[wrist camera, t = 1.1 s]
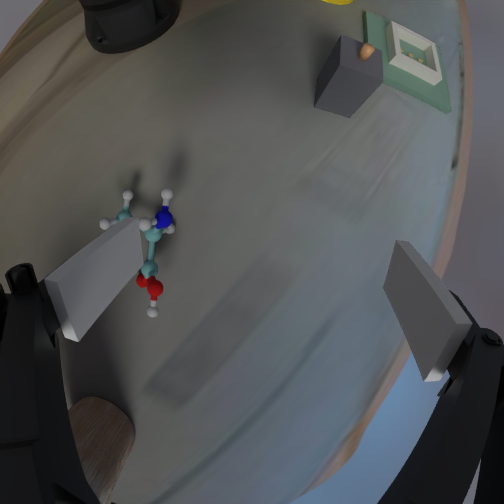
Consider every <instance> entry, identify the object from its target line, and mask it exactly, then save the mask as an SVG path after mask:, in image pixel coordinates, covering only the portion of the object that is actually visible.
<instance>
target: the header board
mask: <svg viewBox="0 0 504 504" xmlns="http://www.w3.org/2000/svg"><path fill="white" fill-rule="evenodd" d="M363 22H364V43H370V44H372V45H373V46H374V47H375V48H377V49H379V50H382V60H383V80H384V81H383V83H385V84H387V85H389V86H392V87H394V88H396V89H399V90H401V91H403V92H405V93H407V94H409V95H411V96H413V97H415V98H417V99H419V100H421V101H423V102H425V103H427V104H429V105H431V106H433V107H435V108H437V109H438V110H440V111H442V112H444V113H446V114H447V113H449V112H451V111H452V110H451V102H450V96H449V89H448V83H447V78H446V73H445V68H444V63H443V59H442V54H441V50H440V47H439V46H437V45H436V44H435V43H433V42H431V41H429V40H428V39H426V38H424V37H422V36H420V35H419V34H417V33H415V32H413V31H411V30H409V29H407V28H405V27H403V26H401V25H399V24H397V23H395V22H393V21H389V20H387V19H385V18H383V17H380V16H378V15H376V14H373V13H371V12H368V11H365V13H364V15H363Z"/></svg>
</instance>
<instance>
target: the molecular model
mask: <svg viewBox="0 0 504 504" xmlns="http://www.w3.org/2000/svg"><path fill="white" fill-rule="evenodd" d="M173 194H174V192H173V190H172V189H171V188H169V187H166V188H164V189H163V190H162V191H161V196H162V198H163V205H162V210H161V211H159V212H158V213H157V214H156V216H155V218H152V219H150V218H148V217H142V218H141V219H140V220H139V229H140V230H141V231H143V232H145V237H146V239H147V240H148V241H149V250H148V260H147V261H145V262H144V265H143V266H142V267H141V271H142V274H140V275H138V277H137V279H136V282H137V284H138V285H139V286H140V287H143V288H144V287H147V290H148V293H149V294H150V295H151V303H150V306H148V308H147V314H148V315H149V316H150V317H156V316H157V315H158V313H159V310H158V307H157V306H156V304H157V296H159V295H161V294H162V292H163V285H162V283H161V282H160V281H158V280H156V279H155V275H156V274H157V272H158V266H157V264H156V263H155V262H154V261H153V257H154V247H155V242H156V241H158V240H159V239H160V238H161V235H162V234H163V233H168V234H172V233H173V232H174V231H175V226H174V225H173V224H172V221H173V217H172V215H171V213H170V212H169V211H168V207H169V200H170V199H171V198H172V197H173ZM123 198H124V199H125V200H124V207H123V211H121V212H119V213H118V215H117V217H116V218H114V219H110V220H109V219H108V218H103V219H101V221H100V227H101V228H102V229H104V230H106V229H108V228H109V227H110V226H111V225H114V224H117V223H118V222H120V221H121V220H122V219H124V218H125V217H132V215H131V213H130V212H128V209H129V202H130V200H131V199H132V198H133V192H132V191H131V190H129V189H127V190H125V191H124V192H123Z"/></svg>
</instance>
